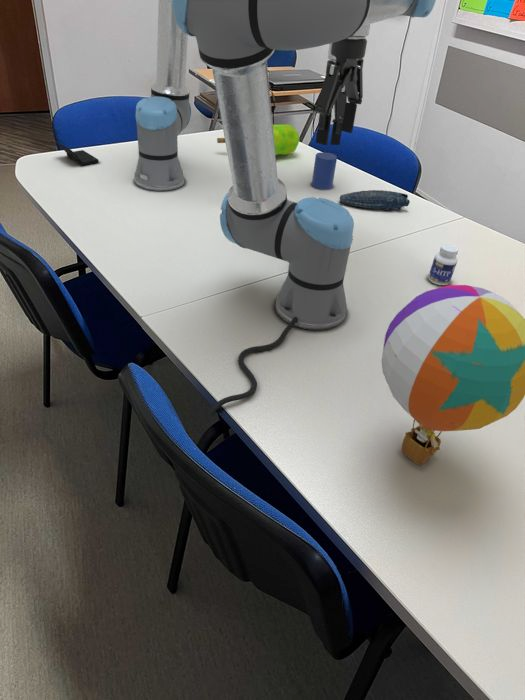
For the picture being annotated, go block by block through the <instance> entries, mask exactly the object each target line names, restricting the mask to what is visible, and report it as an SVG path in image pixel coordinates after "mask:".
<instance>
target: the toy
mask: <svg viewBox="0 0 525 700" xmlns="http://www.w3.org/2000/svg"><path fill="white" fill-rule="evenodd" d="M381 369H382V370H381V371H382V373H383V376H384V379H385V381H386V384H387V386H388V388H389V391H390V392H391V395H392V397H393V398H394V400H395V401H396V403H398V404H399V405H400V407H401V408H402V409H403V410H404V411H405V412H406V413H407V414H408V415H409V416H410V417H411V418H412V419H413V421H412V422H413V423H412V428H411V429H410V431H406V432H405V434H404V435H405V436H404V438H403V441H402V445H401V453H402V454H403V455H404V456H406V457H407V458H408V459H410V461H412V462H413V463H415V464H416V465H417V466H419V467H420V466H422V465H424V464H425V463H426V462H427V461H428V460H430V459H431V458H432V457H434V456H435V454H436V453H437V451H440V449H441V447H440V446H441V443H442V440H441V439H440V438H439V436H441V434H442V432H461V431H462V432H463V431H473V430H480V429H483V428H484V427H486V426H488V425H491V424H493V423H496V422H498V421H499V420H501V419H503V418H507V416H509V415H510V414H511V413H513V412H514V411H515V410H516V409H518V407H519V405H520V404H521V403H522V401H523V400H524V398H525V317H524V316H523V315H522V314H521V313H520V311H518V309H517V308H516V307H515V305H513V304H512V302H510V301H509V300H507V299H506V298H504V297H503V296H501V295H499V294H497V293H496V292H493V291H490V290H488V289H485V288H482V287H479V286H473V285H467V284H447V285H443V286H440V287H436V288H433V289H430V290H426V291H424V292H423V293H420V294H419V295H417V296H415V297H414V298H413V299H412V300H410V301H409V302H408V303H407V304H406V305H405V306H404V307H403V308H402V309H400V310H399V311H398V312H397V313H396V314H395V316H394V317H393V318H392V320H391V322H390V323H389V324H388V327H387V329H386V332H385V335H384V342H383V350H382V355H381ZM415 423H417V424H418V425H417V426H416V427H415ZM435 431H436V432H439V433H438V434H437V435H436V433H435Z"/></svg>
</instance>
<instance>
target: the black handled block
mask: <svg viewBox="0 0 525 700" xmlns="http://www.w3.org/2000/svg"><path fill="white" fill-rule="evenodd" d="M54 141H55V143H56V145H58V146H59V147H60V148H61V149H62V150H63V151H64V152H65V153H66V156H67V157H68V158H70V159H71V160H74V162H76V163H78V164H79V165H81V166H87V165H92V164H97V163H99V161H100V160H99V159H98V158H96V156H93V155H92V154H90V153H88V151H85V150H84V149H81V150H75V151H73V150H72V149H70V148H69V147H67V146H66V145H64V144H62V143H61V142H59V141H58V140H54Z"/></svg>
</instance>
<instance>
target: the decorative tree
mask: <svg viewBox="0 0 525 700" xmlns="http://www.w3.org/2000/svg"><path fill="white" fill-rule="evenodd" d="M273 133H274V144H275V155H276V156H277V155H278V156H279V155H280V156H289V155H290V154H292V153H295V151H296V150H297V148H298V145H299V143H300V134H299V131H298V130H296V129H295V127H294V126H293V125H291V124H273ZM216 142H217V144H226V143H225V137H217V138H216Z"/></svg>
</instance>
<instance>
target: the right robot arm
mask: <svg viewBox="0 0 525 700" xmlns="http://www.w3.org/2000/svg"><path fill="white" fill-rule="evenodd" d="M436 1H437V0H172V6H173V13H174V17H175V20H176V22H177V25H178V26H179V28H180V29H181V30H183V32H184V33H186V34H188V37H195V39H196V43H197V49H198V55H199V58H200V60H201V62H202V63H203V64H204V65H205V66H206V67H208V68H210V69H212V76H213V81H214V86H215V92H216V98H217V103H218V109H219V115H220V119H221V125H222V130H223V136H224V137H223V138H225V143H224V144H225V147H226V153H227V160H228V164H229V169H230V176H231V180H232V181H231V182H232V185H231V186H230V187H229V189H228V191H227V193H226V194H225V195H224V198H223V200H222V203H221V206H220V210H221V213H220V214H219V223H220V224H219V225H220V229H221V232H222V233H223V235H224V237H225V238H226V240H228V241H229V242H231V243H233V244H234V245H237V246H239V247H240V248H243V249H248V250H250V251H253V252H257V253H260V254H263V255H265V256H269V257H272V258H275V259H278V260H281V261H284V262H287V263H289V264H288V270H287V271H288V272H287V275H286V278H285V279H284V282H283V283H282V285H281V287H280V290H279V291H278V294H277V296H276V300H275V311H276V313H277V315H278V316H279V317H280V318H281V319H282V320H283V321H284V322H286V323H287V325H286V326H285V328H284V329H283V330H282V332H281V334H280V336H279V337H278V339H276V340H275V341H273V342H271V343H269V344H265V345H263V344H262V345H256V346H251V347H248V348H246V349H243V350H242V351H241V352H240V353H239V356H238V359H237V361H238V365H239V367H240V369H241V370H242V371H243V373H244V374H245V375H246V376H247V378H248V379H249V380H250V384H251V385H250V388H249V389H248V390H247V391H245V392H243V393H238V394H233V395H229V396H226V397H223V398H222V399H219V400H218V401H217V402H216V403H214V405H212V407H211V408H210V409H209V411H208V414H207V415H208V416H209V417H213V416H214V415H215V414H216V412H218V410H219V409H220V408H221V407H223V406H224V405H226V404H229V403H231V402H236V401H240V400H244V399H247V398H250V397H252V396H253V395H254V394H255V392H256V390H257V387H258V382H257V379H256V377H255V375H254V374H253V373H252V370H250V369H249V367H248V366H247V365H246V364H245V361H244V359H245V357H246V356H247V355H249V354H251V353H255V352H261V351H268V350H271V349H274V348H276V347H278V346H280V345H281V344H282V343H283V341H284V340H285V339H286V338H287V335H288V334H289V332H290V331H291V330H292V328H293V327H296V328H300V329H304V330H310V331H324V330H325V331H326V330H329V329H333V328H336V327H337V326H339V325H340V324H342V323H343V322H344V320H345V318H346V315H347V310H348V309H347V308H348V307H347V306H348V305H347V297H346V292H345V286H344V280H345V275H346V271H347V267H348V261H349V257H350V253H351V252H350V251H351V246H352V244H353V240H354V239H353V238H354V235H353V234H354V228H355V221H354V218H353V215H352V214H351V212H349V210H348V209H346V208H345V206H343V205H341V204H339V203H338V202H335V201H333V200H330V199H327V198H324V197H323V198H322V197H318V198H316V197H314V196H311V197H309V196H308V197H305V198H301V199H300V200H298V201H297V202H296V201H292V200H288V192H287V187H286V184H285V183H284V182H283V180H281V179H280V178H278V169H277V167H278V166H277V157H276V156H277V155H275V144H274V133H273V125H274V124H273V113H272V103H271V102H272V101H271V91H270V80H269V69H268V60H269V59H270V58H271V56H273V54H274V53H275V51H299V50H308V49H312V48H317V47H321V46H325V45H329V44H330V43H332V46H331V54H332V55H333V56H335V57H336V62H335V65H334V64H328V66H327V65H326V68H327V72H326V71H325V77H324V80H323V83H322V85H321V89H320V92H319V95H318V98H317V101H316V104H315V107H314V112H315V113H316V114H319V115H318V123H317V130H316V138H315V144H319V145H322V146H327V145H329V144H328V143H329V137H330V130H331V122H332V116H333V115H332V114H331V115H330V112H331V110H332V111H333V109H334V103H335V101H336V99H337V97H338V94H339V92H340V90H341V89H342V88H344V86H345V88H346V93H347V103H346V105H345V111H344V117H343V124H342V130H341V131H342V132H345V133H348V134H352V133H353V131H354V125H355V120H356V115H357V109H358V108H357V107H358V105H361V104H362V103H363V97H364V90H363V89H364V88H363V86H364V84H363V83H364V81H363V80H364V79H363V76H364V75H363V67H364V60H365V59H364V58H365V57H366V56H365V55H366V50H367V44H368V40H367V38H366V37H368V36H369V35H370V30H371V29H370V28H371V24H375V23H379V22H381V21H386V20H389V19H393V18H396V17H401V16H403V17H404V16H405V17H410V18H412V19H413V18H423V19H424V18H427V17H428V16H429V15H430V14H431V13H432V11H433V9H434V7H435V4H436Z"/></svg>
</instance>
